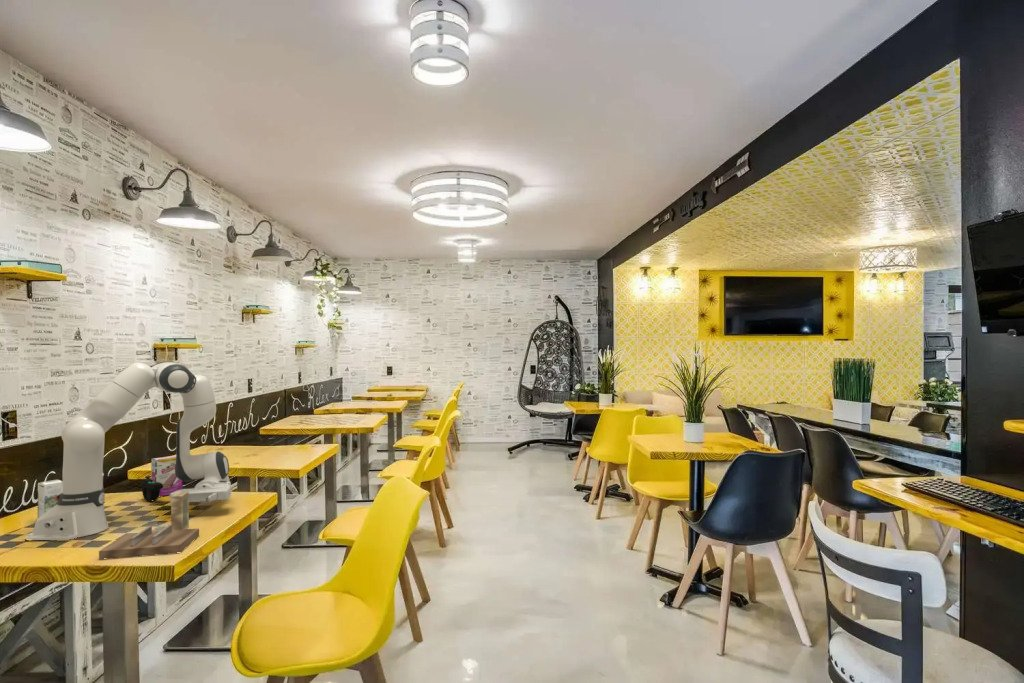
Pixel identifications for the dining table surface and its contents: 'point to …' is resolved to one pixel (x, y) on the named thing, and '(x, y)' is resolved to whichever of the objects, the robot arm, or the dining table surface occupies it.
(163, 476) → the candy bar box
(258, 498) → the dining table surface
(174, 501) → the tan wooden block
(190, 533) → the notch board
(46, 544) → the dining table surface
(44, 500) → the syrup box
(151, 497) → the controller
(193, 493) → the robot arm
